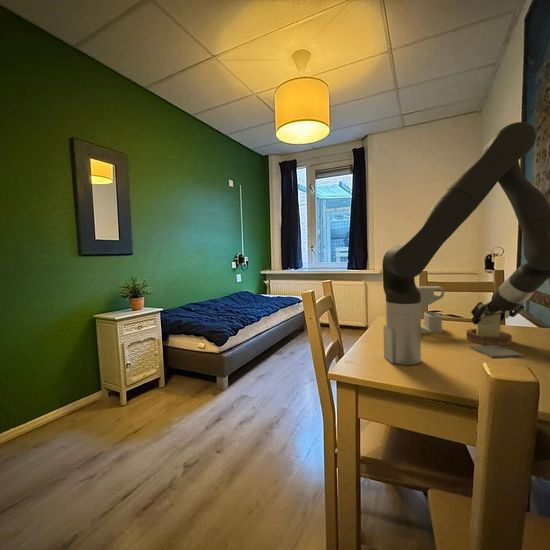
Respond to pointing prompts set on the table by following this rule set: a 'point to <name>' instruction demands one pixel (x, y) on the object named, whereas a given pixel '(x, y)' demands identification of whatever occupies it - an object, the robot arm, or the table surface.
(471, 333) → the walnut ring stand
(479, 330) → the skincare box
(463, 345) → the table surface
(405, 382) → the table surface
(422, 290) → the phone holder
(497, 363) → the table surface
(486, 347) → the slate coaster
